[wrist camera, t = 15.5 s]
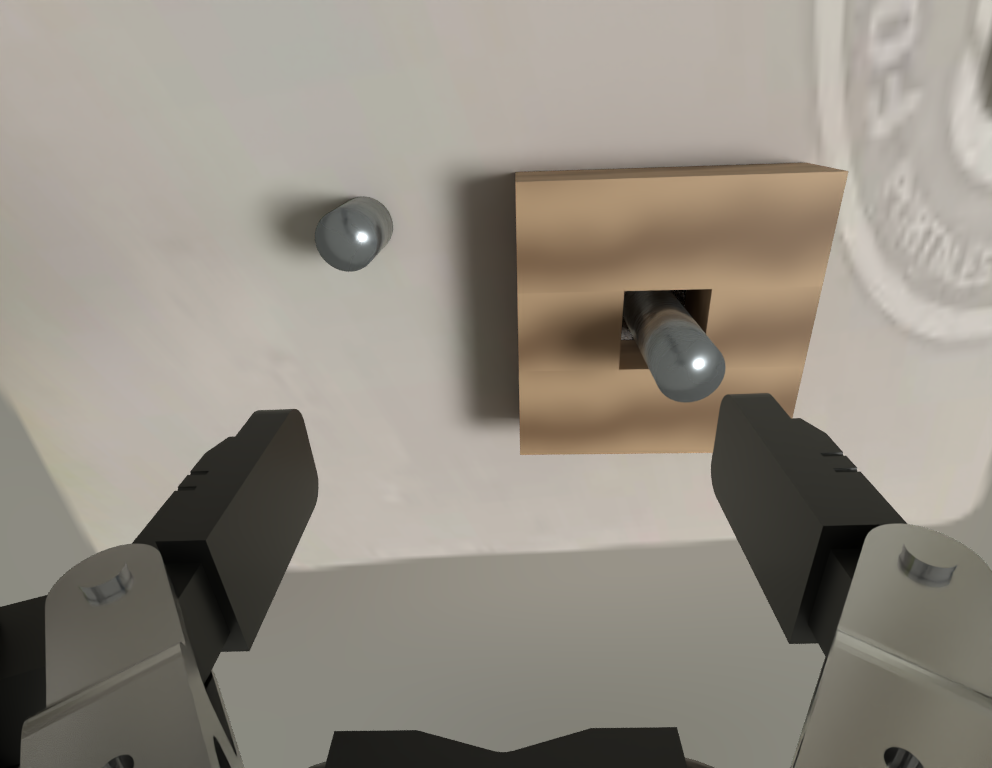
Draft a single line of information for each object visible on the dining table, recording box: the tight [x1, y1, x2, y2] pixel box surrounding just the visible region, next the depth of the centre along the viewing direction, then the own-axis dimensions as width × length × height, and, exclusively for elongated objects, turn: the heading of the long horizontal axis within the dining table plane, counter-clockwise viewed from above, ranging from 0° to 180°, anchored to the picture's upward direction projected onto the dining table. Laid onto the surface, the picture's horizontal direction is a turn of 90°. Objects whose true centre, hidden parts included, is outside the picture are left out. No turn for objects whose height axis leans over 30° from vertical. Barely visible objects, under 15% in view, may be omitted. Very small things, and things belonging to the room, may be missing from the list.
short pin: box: [315, 197, 393, 271], centre depth 35 cm, size 4×4×5 cm
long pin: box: [623, 290, 726, 403], centre depth 35 cm, size 4×4×11 cm
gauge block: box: [515, 163, 848, 455], centre depth 37 cm, size 18×18×5 cm
